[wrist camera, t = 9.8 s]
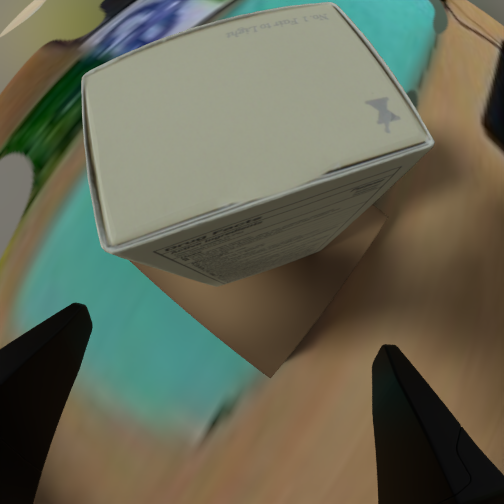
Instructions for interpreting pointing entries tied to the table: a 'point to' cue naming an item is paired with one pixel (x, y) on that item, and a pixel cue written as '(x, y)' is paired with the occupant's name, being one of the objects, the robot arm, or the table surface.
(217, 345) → the table surface
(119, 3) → the table surface
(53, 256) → the table surface
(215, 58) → the skincare box
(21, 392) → the robot arm
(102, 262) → the table surface
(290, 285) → the walnut block
